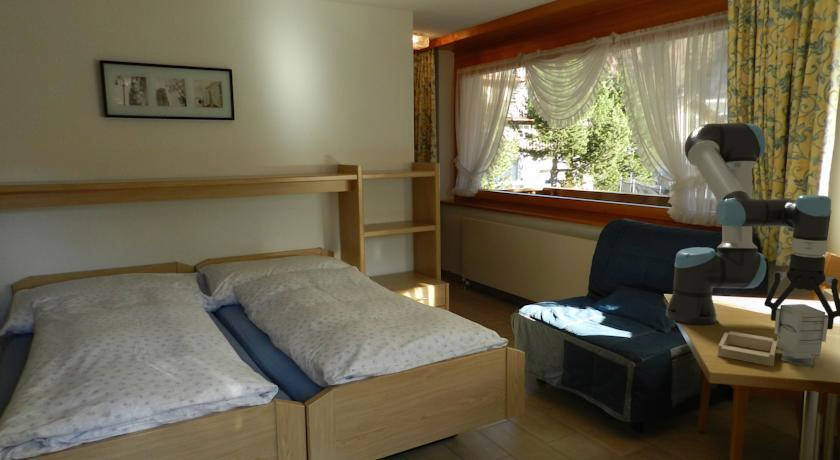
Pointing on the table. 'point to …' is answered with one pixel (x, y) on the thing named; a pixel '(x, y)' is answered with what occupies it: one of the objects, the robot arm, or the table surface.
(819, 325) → the supplement box
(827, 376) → the table surface
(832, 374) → the table surface
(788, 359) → the coaster
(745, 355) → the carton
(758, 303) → the table surface
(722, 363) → the table surface
